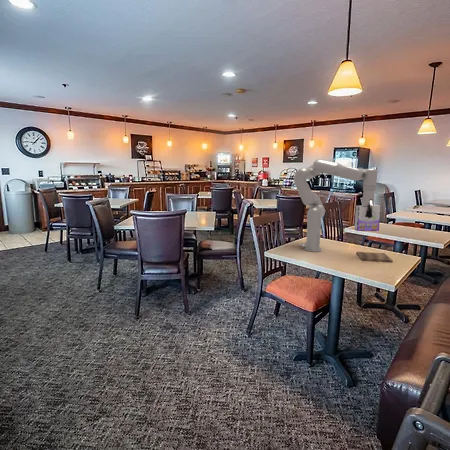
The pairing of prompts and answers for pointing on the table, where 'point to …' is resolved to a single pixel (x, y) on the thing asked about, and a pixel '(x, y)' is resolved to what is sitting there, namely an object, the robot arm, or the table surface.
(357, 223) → the candy box
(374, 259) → the serving board
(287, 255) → the table surface
